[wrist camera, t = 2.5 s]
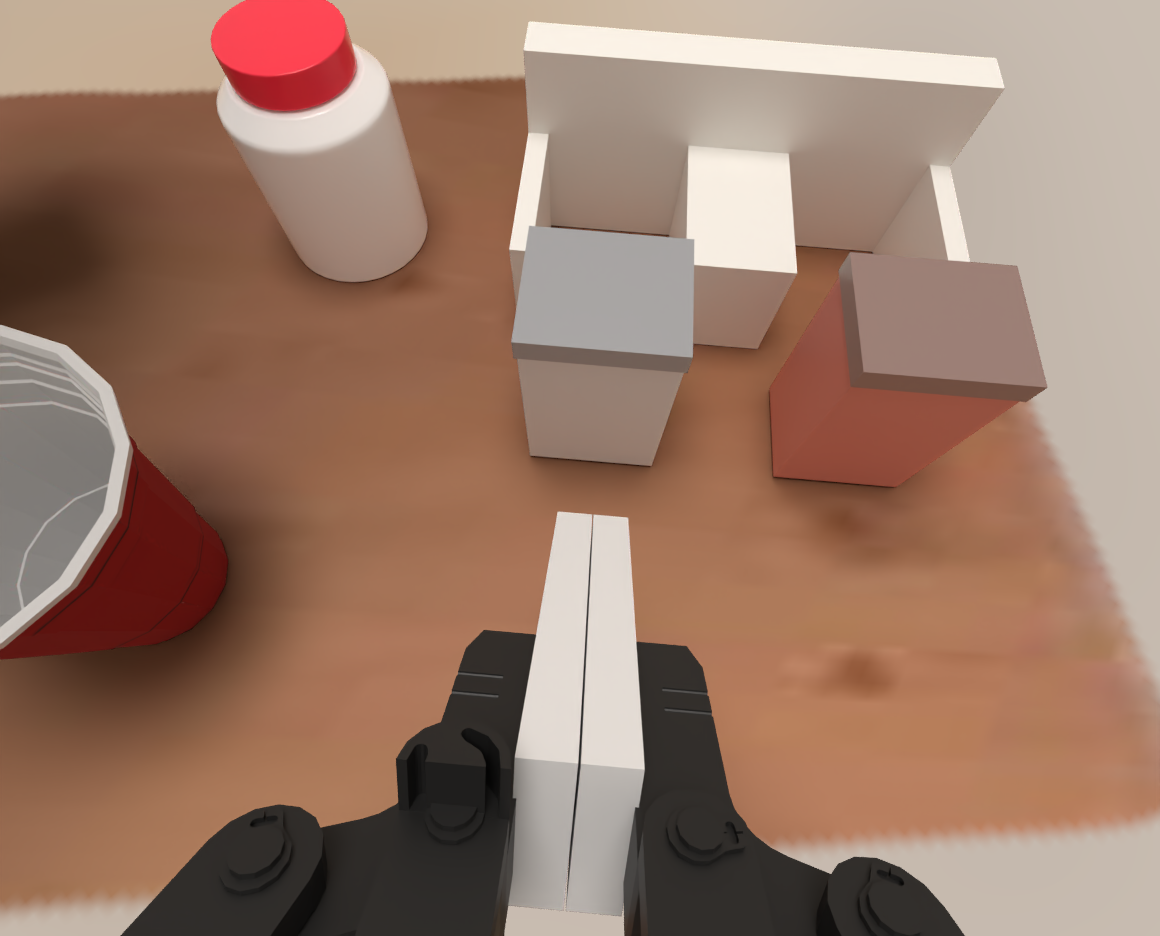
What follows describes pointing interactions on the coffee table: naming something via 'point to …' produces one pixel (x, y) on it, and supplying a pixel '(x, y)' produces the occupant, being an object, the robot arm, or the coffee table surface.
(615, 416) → the grey capped white pillar
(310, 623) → the coffee table surface
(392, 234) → the pill bottle
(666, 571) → the coffee table surface
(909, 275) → the capped red pillar
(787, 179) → the rack
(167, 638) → the plastic cup
